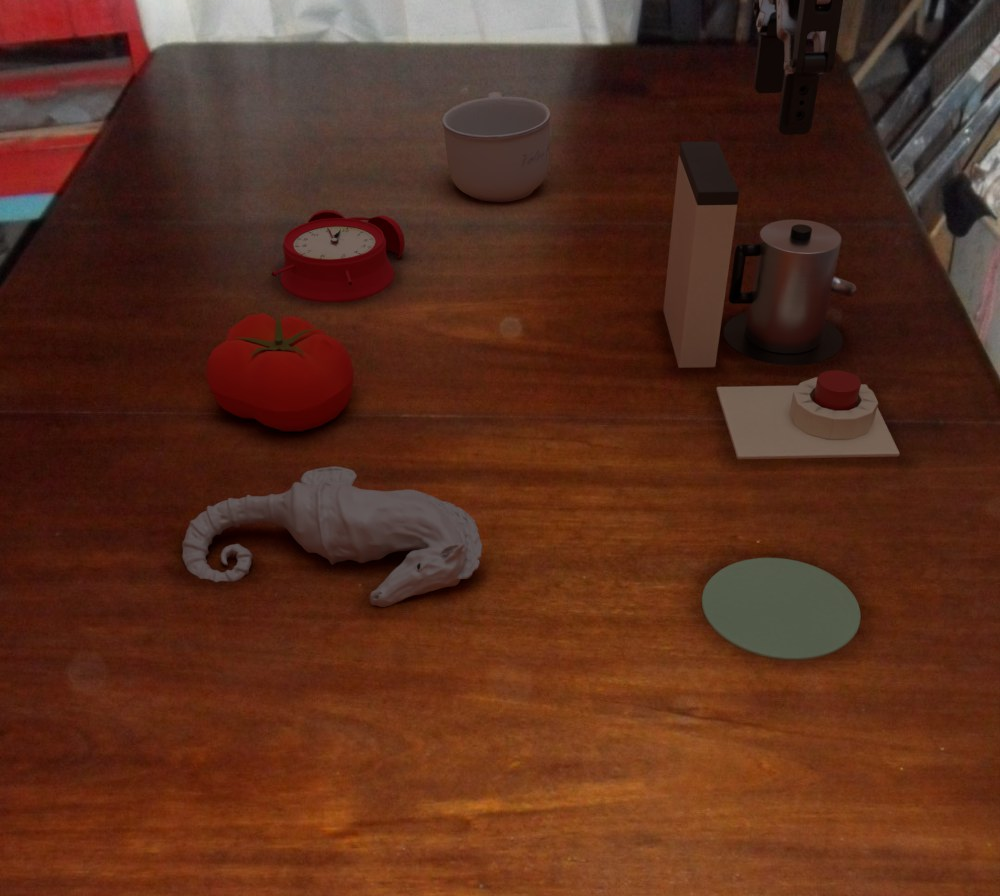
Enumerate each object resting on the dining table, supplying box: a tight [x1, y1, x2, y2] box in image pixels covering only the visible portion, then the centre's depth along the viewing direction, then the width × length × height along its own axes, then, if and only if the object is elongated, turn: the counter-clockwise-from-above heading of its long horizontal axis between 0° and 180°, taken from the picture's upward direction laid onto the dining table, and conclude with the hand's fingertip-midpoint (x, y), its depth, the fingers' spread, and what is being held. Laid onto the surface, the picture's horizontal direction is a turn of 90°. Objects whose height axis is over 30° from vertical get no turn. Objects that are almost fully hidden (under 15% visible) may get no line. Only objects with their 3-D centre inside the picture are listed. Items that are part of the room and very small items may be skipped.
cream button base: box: [715, 376, 901, 460], centre depth 90 cm, size 12×10×3 cm
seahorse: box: [181, 466, 484, 608], centre depth 78 cm, size 5×12×20 cm
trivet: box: [700, 557, 862, 661], centre depth 76 cm, size 10×10×1 cm
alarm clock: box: [271, 209, 406, 304], centre depth 109 cm, size 10×6×15 cm
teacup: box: [441, 91, 552, 203], centre depth 122 cm, size 14×11×8 cm
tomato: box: [205, 312, 355, 432], centre depth 92 cm, size 10×11×6 cm
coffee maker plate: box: [722, 311, 844, 367], centre depth 101 cm, size 10×10×1 cm
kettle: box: [728, 219, 857, 354], centre depth 97 cm, size 10×6×9 cm, turn 92°
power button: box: [813, 369, 862, 411], centre depth 89 cm, size 3×3×2 cm
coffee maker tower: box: [662, 141, 740, 369], centre depth 96 cm, size 3×10×15 cm, turn 2°
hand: (780, 111), depth 85 cm, fingers open, 8 cm apart
